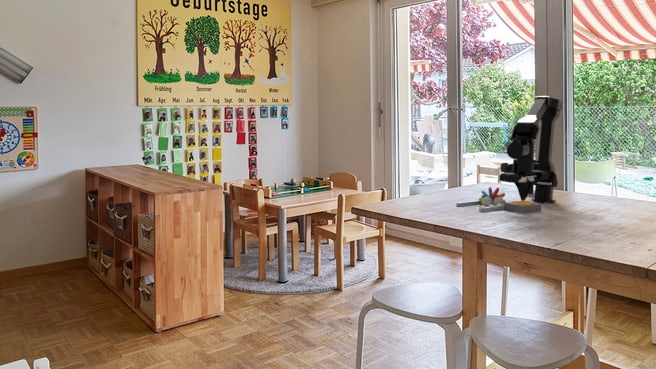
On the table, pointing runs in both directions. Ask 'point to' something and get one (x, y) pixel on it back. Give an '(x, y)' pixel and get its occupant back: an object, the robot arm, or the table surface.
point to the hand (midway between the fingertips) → (523, 200)
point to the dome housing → (523, 207)
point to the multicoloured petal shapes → (492, 198)
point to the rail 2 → (491, 208)
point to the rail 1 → (468, 203)
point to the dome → (522, 202)
